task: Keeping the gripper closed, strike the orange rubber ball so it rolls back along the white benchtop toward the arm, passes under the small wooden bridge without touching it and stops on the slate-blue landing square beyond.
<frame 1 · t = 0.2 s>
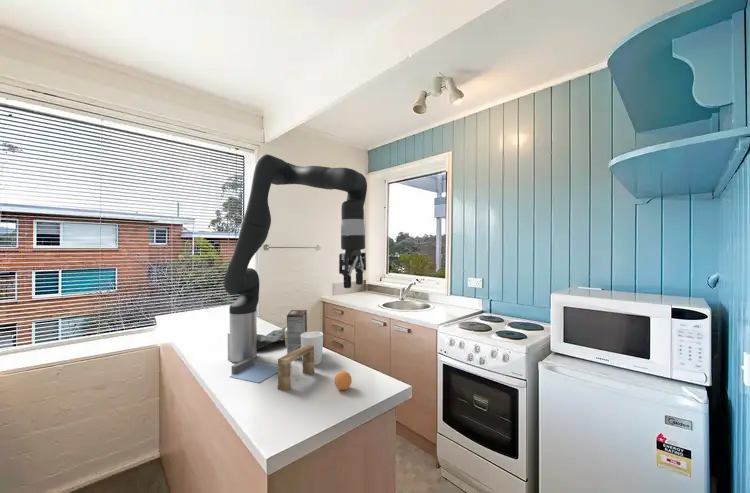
hand: (353, 286, 94), 29 cm above the counter, fingers open, 8 cm apart
white cup: (312, 362, 108), on the counter
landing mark: (258, 372, 99), on the counter
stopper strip: (243, 369, 102), on the counter
coffee box: (297, 354, 116), on the counter
grey green crumpled pouch: (276, 344, 129), on the counter
ball: (343, 380, 87), on the counter
supplement bottle: (291, 346, 126), on the counter
bridge: (297, 380, 93), on the counter
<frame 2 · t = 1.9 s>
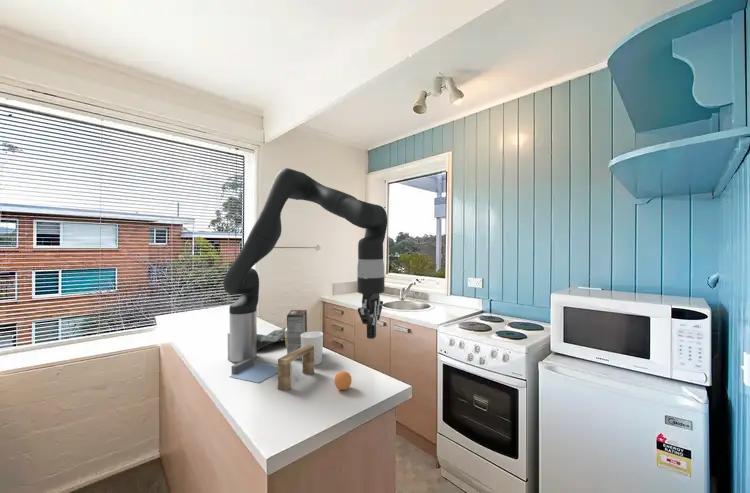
hand: (371, 337, 84), 16 cm above the counter, fingers closed
nothing on the counter moved.
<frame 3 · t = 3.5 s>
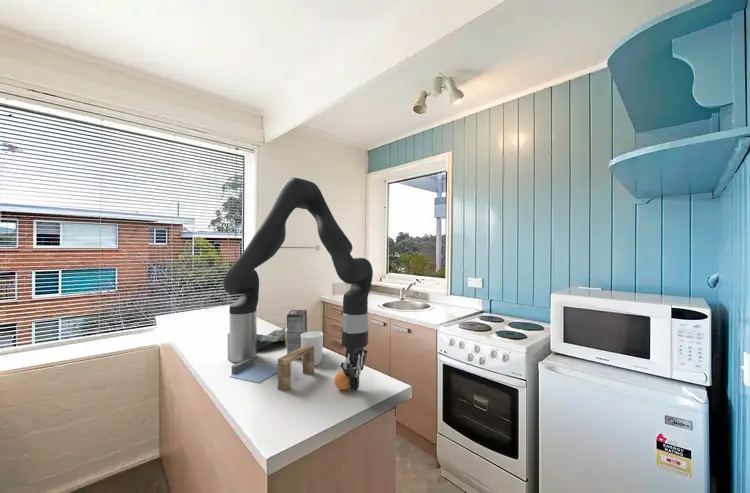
hand: (354, 388, 86), 1 cm above the counter, fingers closed
grey green crumpled pouch: (277, 344, 129), on the counter, touching supplement bottle
ball: (343, 380, 87), on the counter, touching gripper
supplement bottle: (292, 346, 126), on the counter, touching grey green crumpled pouch
everything else where it was.
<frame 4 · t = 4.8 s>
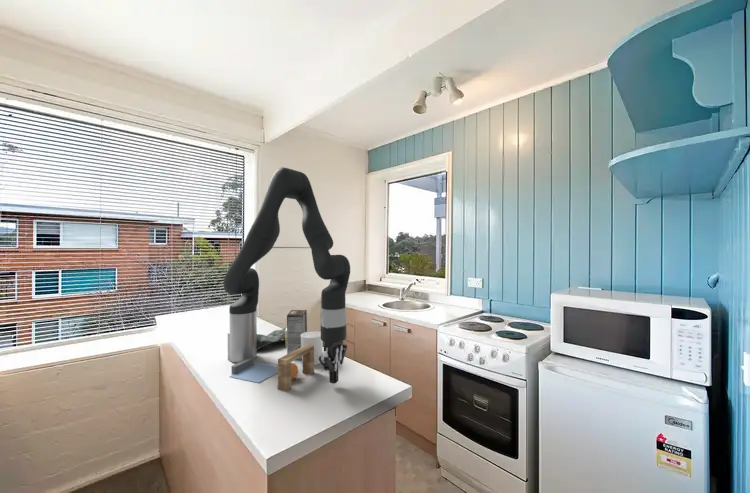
hand: (333, 382, 88), 2 cm above the counter, fingers closed
grey green crumpled pouch: (277, 344, 129), on the counter
ball: (289, 371, 94), on the counter
supplement bottle: (292, 346, 126), on the counter
everything else where it was.
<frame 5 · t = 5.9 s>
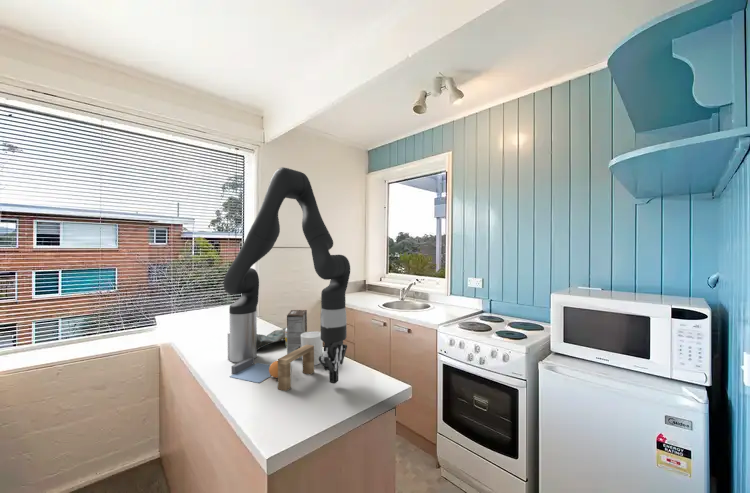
hand: (333, 382, 88), 2 cm above the counter, fingers closed
ball: (277, 369, 96), on the counter
everything else where it was.
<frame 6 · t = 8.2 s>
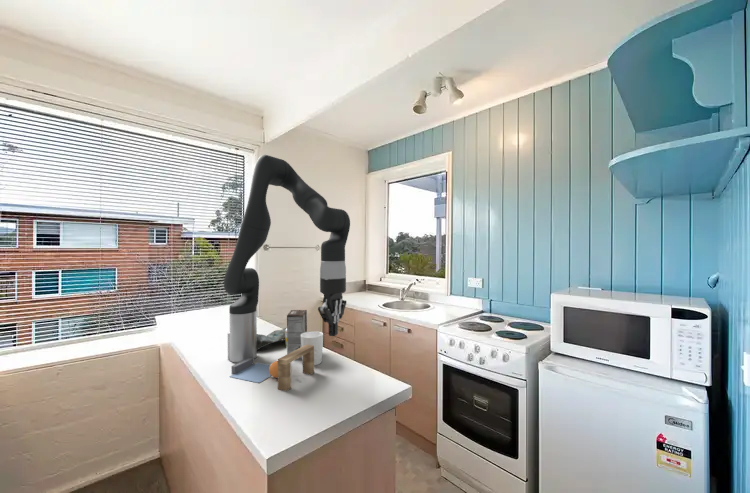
hand: (333, 335, 89), 15 cm above the counter, fingers closed
grey green crumpled pouch: (277, 344, 129), on the counter, touching supplement bottle
supplement bottle: (292, 346, 126), on the counter, touching grey green crumpled pouch
everything else where it was.
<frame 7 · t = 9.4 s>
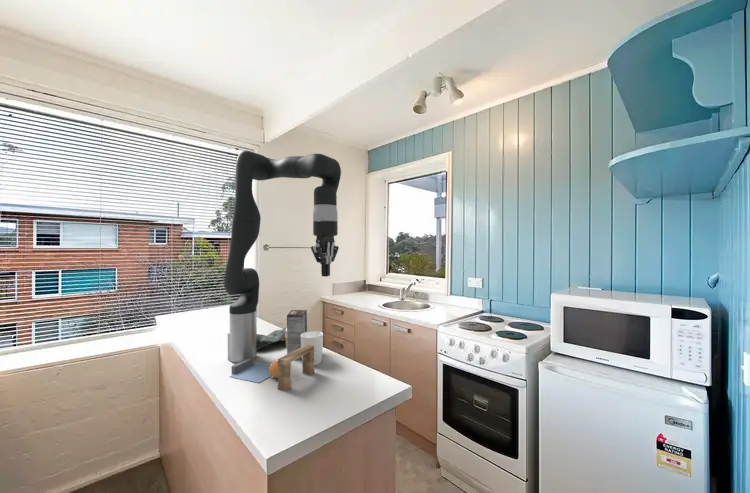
hand: (325, 276, 94), 32 cm above the counter, fingers closed
nothing on the counter moved.
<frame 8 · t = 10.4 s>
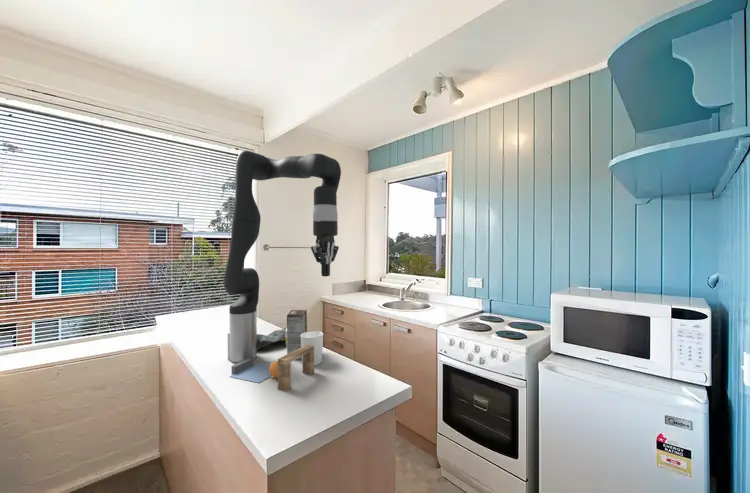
hand: (325, 276, 94), 32 cm above the counter, fingers closed
nothing on the counter moved.
at the end: ball 8.3 cm from the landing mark (horizontally); ball never touched bridge; ball at rest at the end (0.0 cm/s) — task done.
